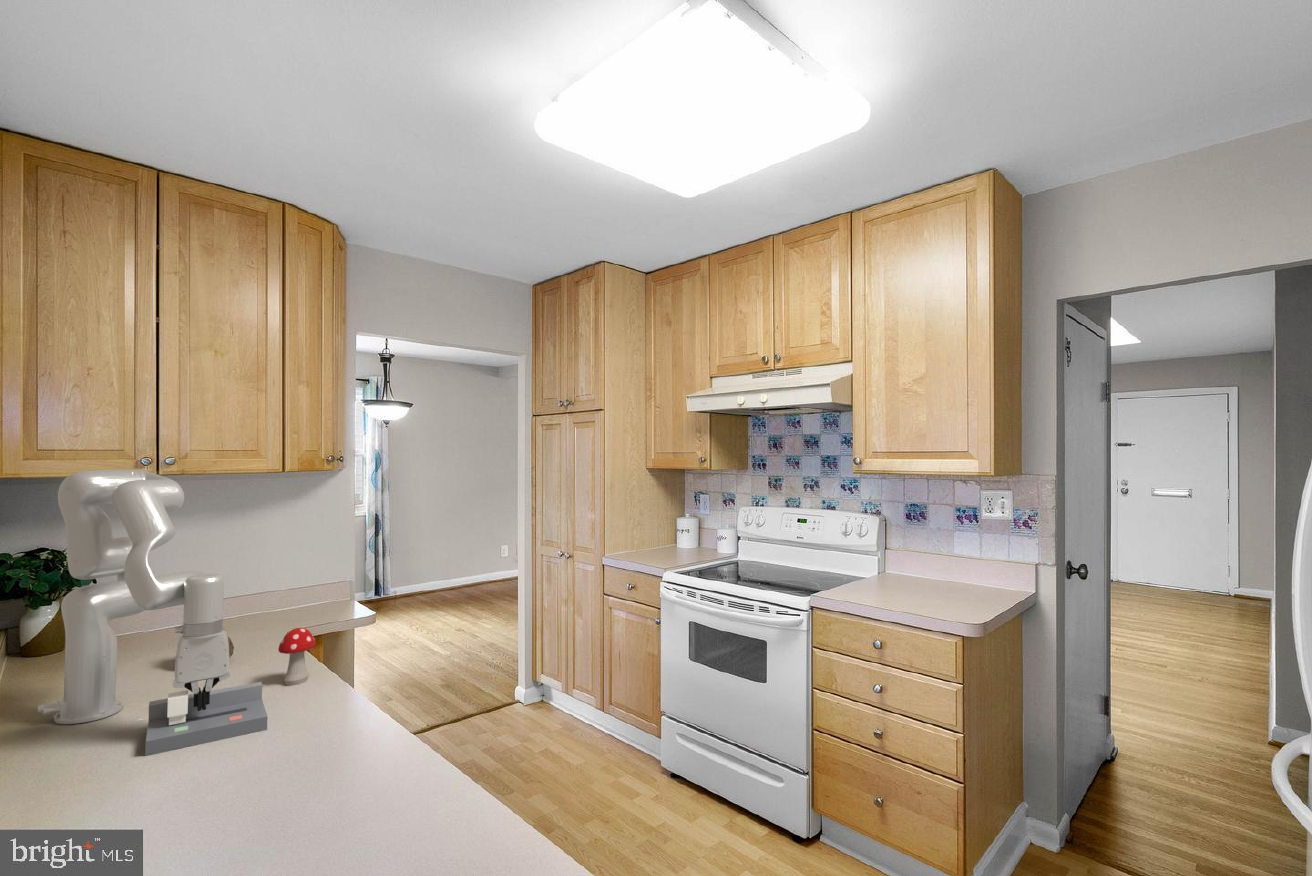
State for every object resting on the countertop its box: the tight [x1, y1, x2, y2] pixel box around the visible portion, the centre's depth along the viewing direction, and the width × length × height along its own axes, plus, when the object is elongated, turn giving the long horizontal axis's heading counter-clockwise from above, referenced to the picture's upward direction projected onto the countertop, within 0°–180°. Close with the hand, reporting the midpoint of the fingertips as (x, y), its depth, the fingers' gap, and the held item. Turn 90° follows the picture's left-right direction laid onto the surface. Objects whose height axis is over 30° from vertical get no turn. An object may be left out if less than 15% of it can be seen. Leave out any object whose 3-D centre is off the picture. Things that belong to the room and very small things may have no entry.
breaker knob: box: [167, 689, 189, 725], centre depth 142 cm, size 4×4×6 cm
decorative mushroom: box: [277, 627, 317, 686], centre depth 177 cm, size 10×9×15 cm
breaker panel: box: [144, 681, 268, 757], centre depth 146 cm, size 22×16×6 cm
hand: (201, 708), depth 145 cm, fingers closed
